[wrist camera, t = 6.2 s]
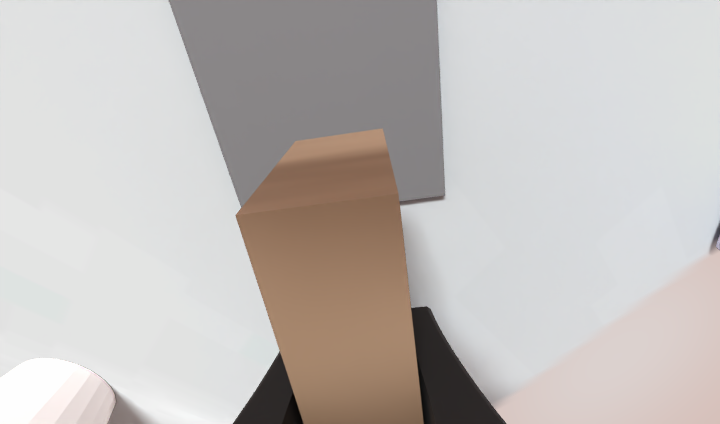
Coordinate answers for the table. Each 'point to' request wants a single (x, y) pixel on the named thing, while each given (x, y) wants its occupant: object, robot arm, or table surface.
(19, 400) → the cup
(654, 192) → the table surface
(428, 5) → the mat
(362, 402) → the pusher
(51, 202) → the table surface
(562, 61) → the table surface
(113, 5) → the table surface
